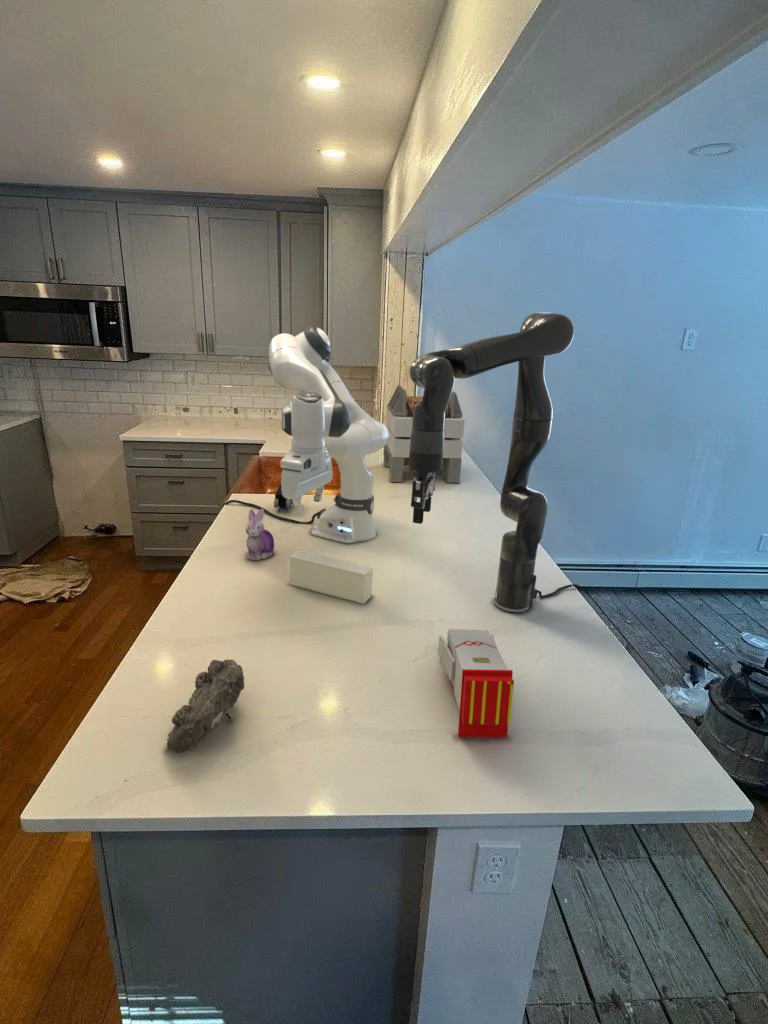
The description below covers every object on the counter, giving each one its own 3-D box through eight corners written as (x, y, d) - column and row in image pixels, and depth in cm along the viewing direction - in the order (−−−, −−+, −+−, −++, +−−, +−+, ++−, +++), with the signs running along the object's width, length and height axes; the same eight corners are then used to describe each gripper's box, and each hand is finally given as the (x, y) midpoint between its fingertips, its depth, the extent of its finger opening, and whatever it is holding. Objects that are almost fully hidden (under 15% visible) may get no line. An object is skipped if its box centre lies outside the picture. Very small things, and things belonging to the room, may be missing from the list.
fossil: (192, 660, 117) (244, 628, 112) (224, 691, 120) (276, 661, 115) (142, 746, 98) (202, 712, 93) (182, 779, 101) (242, 748, 96)
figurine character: (291, 517, 214) (296, 500, 227) (290, 499, 211) (295, 483, 224) (273, 516, 214) (279, 500, 227) (272, 498, 210) (278, 482, 224)
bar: (289, 584, 160) (289, 556, 158) (299, 577, 165) (299, 550, 162) (363, 603, 152) (364, 574, 149) (371, 596, 156) (372, 567, 153)
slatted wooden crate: (382, 463, 289) (386, 382, 275) (445, 464, 293) (451, 384, 279) (390, 482, 257) (394, 392, 243) (460, 483, 261) (468, 394, 247)
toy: (488, 613, 130) (523, 677, 101) (484, 667, 133) (517, 744, 104) (435, 612, 130) (455, 676, 101) (432, 666, 133) (451, 743, 103)
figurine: (249, 563, 172) (248, 517, 167) (241, 550, 180) (239, 506, 175) (280, 558, 176) (279, 513, 171) (270, 546, 184) (269, 502, 179)
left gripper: (318, 446, 158) (318, 493, 163) (276, 462, 140) (277, 515, 145) (338, 449, 156) (337, 497, 160) (298, 466, 138) (298, 519, 143)
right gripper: (437, 457, 119) (431, 529, 124) (448, 443, 131) (443, 509, 137) (402, 453, 120) (398, 525, 126) (417, 440, 133) (413, 505, 139)
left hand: (308, 506), depth 153 cm, fingers open, 8 cm apart
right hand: (421, 516), depth 131 cm, fingers open, 8 cm apart
